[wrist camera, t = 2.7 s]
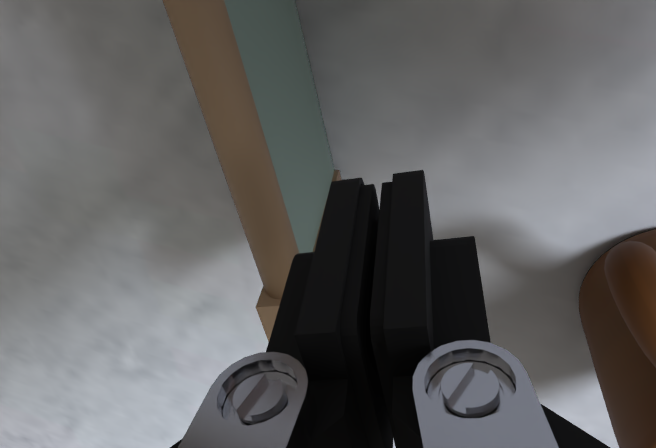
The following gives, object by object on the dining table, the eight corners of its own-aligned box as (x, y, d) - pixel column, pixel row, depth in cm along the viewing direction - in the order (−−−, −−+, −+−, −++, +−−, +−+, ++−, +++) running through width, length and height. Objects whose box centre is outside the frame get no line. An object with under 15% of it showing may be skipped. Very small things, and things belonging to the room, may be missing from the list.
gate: (200, -211, 18) (54, -231, 11) (248, -226, 17) (130, -256, 10) (311, 204, 26) (269, 342, 19) (346, 201, 25) (315, 341, 18)
